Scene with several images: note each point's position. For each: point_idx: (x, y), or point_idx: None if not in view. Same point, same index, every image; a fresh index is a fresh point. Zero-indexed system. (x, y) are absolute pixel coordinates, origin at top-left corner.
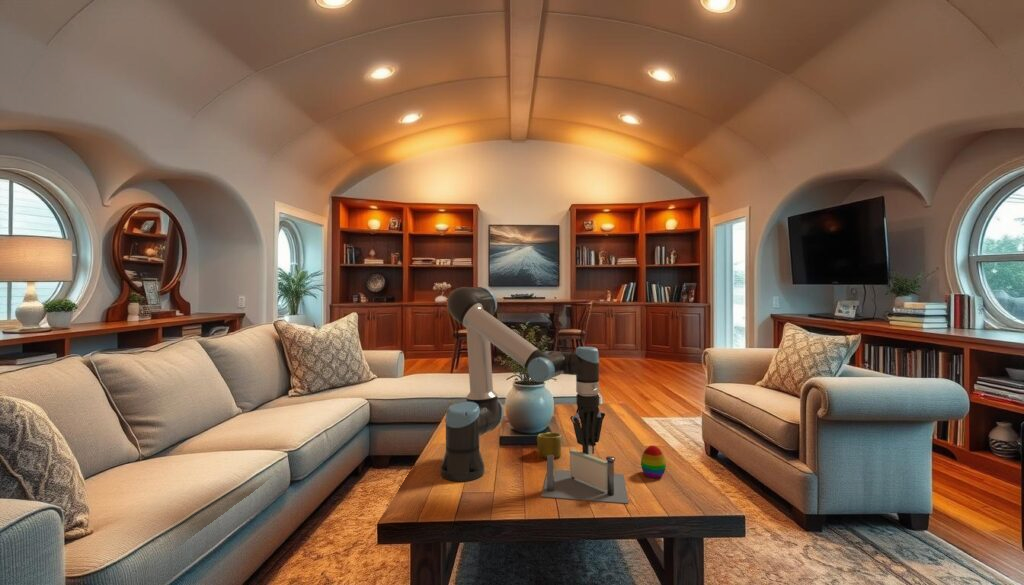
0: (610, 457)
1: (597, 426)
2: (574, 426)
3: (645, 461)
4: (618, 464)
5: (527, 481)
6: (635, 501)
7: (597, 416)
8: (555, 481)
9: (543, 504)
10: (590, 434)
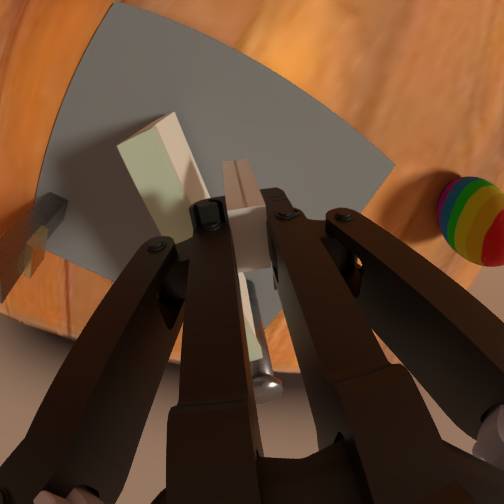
0: (264, 391)
1: (412, 355)
2: (57, 408)
3: (461, 235)
4: (437, 76)
5: (7, 111)
6: (286, 325)
7: (481, 443)
8: (89, 136)
9: (35, 278)
10: (289, 314)
